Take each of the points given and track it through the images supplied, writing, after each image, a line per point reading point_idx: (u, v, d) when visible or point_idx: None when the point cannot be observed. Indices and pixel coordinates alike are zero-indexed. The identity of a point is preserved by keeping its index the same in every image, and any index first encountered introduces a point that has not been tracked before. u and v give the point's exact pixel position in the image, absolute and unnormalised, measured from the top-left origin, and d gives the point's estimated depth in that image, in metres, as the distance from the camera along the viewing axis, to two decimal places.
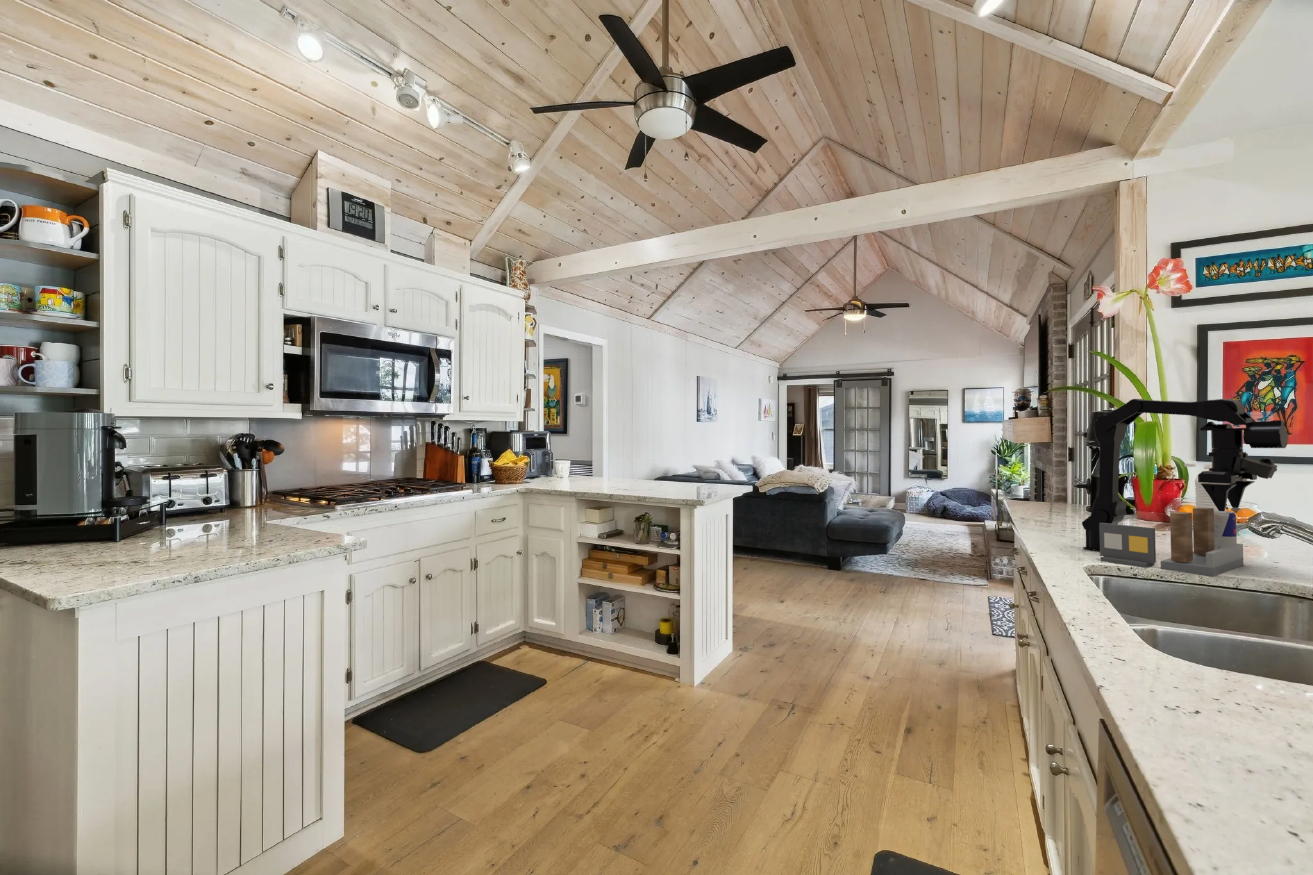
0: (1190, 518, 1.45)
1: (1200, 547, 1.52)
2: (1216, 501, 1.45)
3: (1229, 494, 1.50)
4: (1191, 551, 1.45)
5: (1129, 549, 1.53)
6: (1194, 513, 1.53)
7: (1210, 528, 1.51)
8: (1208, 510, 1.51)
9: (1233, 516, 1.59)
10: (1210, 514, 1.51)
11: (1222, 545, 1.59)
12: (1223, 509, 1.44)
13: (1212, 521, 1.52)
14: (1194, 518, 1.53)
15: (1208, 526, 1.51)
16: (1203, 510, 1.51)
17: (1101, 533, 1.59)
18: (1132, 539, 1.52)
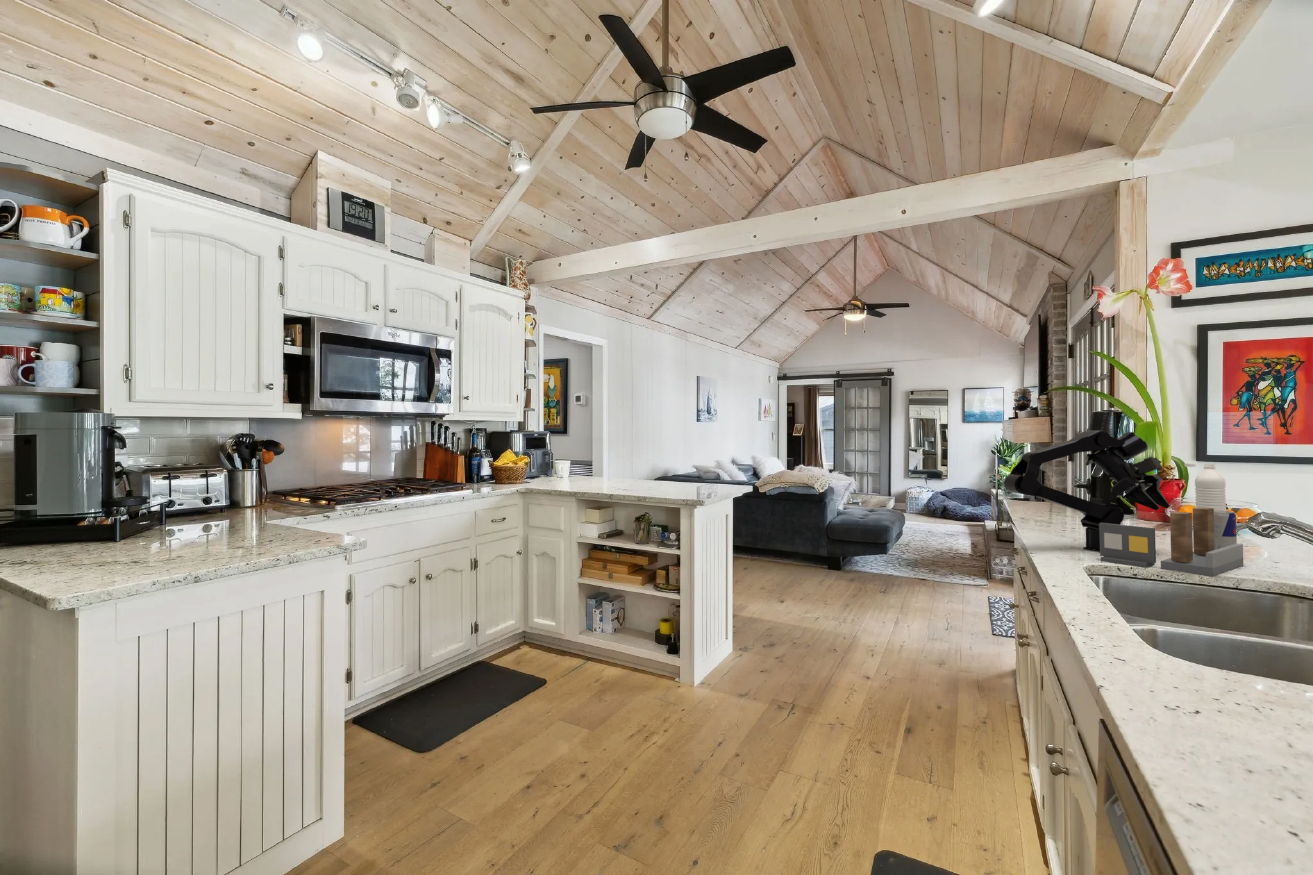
0: (1190, 518, 1.45)
1: (1200, 547, 1.52)
2: (1146, 504, 1.60)
3: (1154, 500, 1.64)
4: (1191, 551, 1.45)
5: (1129, 549, 1.53)
6: (1194, 513, 1.53)
7: (1210, 528, 1.51)
8: (1208, 510, 1.51)
9: (1233, 516, 1.59)
10: (1210, 514, 1.51)
11: (1222, 545, 1.59)
12: (1157, 506, 1.58)
13: (1212, 521, 1.52)
14: (1194, 518, 1.53)
15: (1208, 526, 1.51)
16: (1203, 510, 1.51)
17: (1101, 533, 1.59)
18: (1132, 539, 1.52)
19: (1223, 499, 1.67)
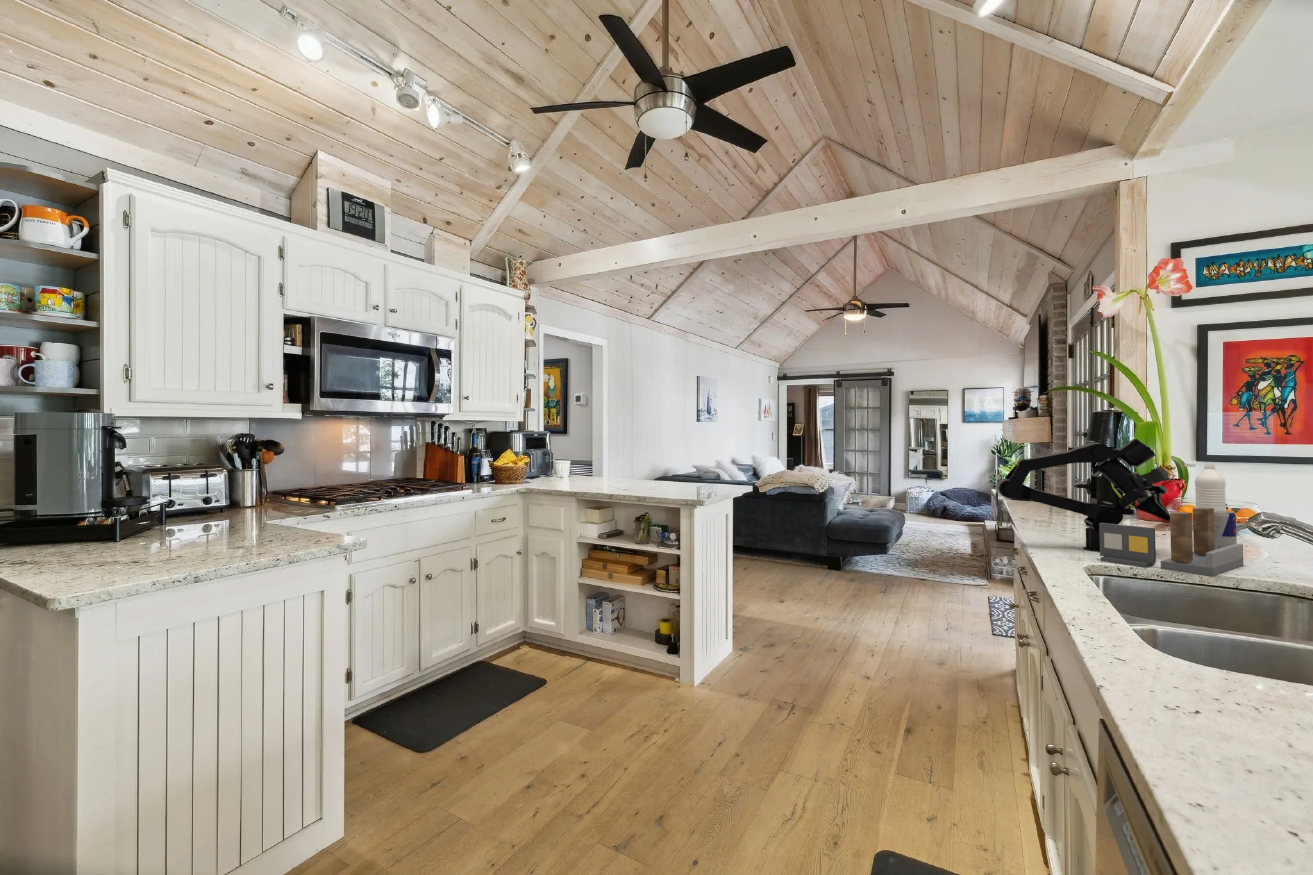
0: (1190, 518, 1.45)
1: (1200, 547, 1.52)
2: (1158, 514, 1.60)
3: None
4: (1191, 551, 1.45)
5: (1129, 549, 1.53)
6: (1194, 513, 1.53)
7: (1210, 528, 1.51)
8: (1208, 510, 1.51)
9: (1233, 516, 1.59)
10: (1210, 514, 1.51)
11: (1222, 545, 1.59)
12: (1169, 517, 1.59)
13: (1212, 521, 1.52)
14: (1194, 518, 1.53)
15: (1208, 526, 1.51)
16: (1203, 510, 1.51)
17: (1101, 533, 1.59)
18: (1132, 539, 1.52)
19: (1223, 499, 1.67)
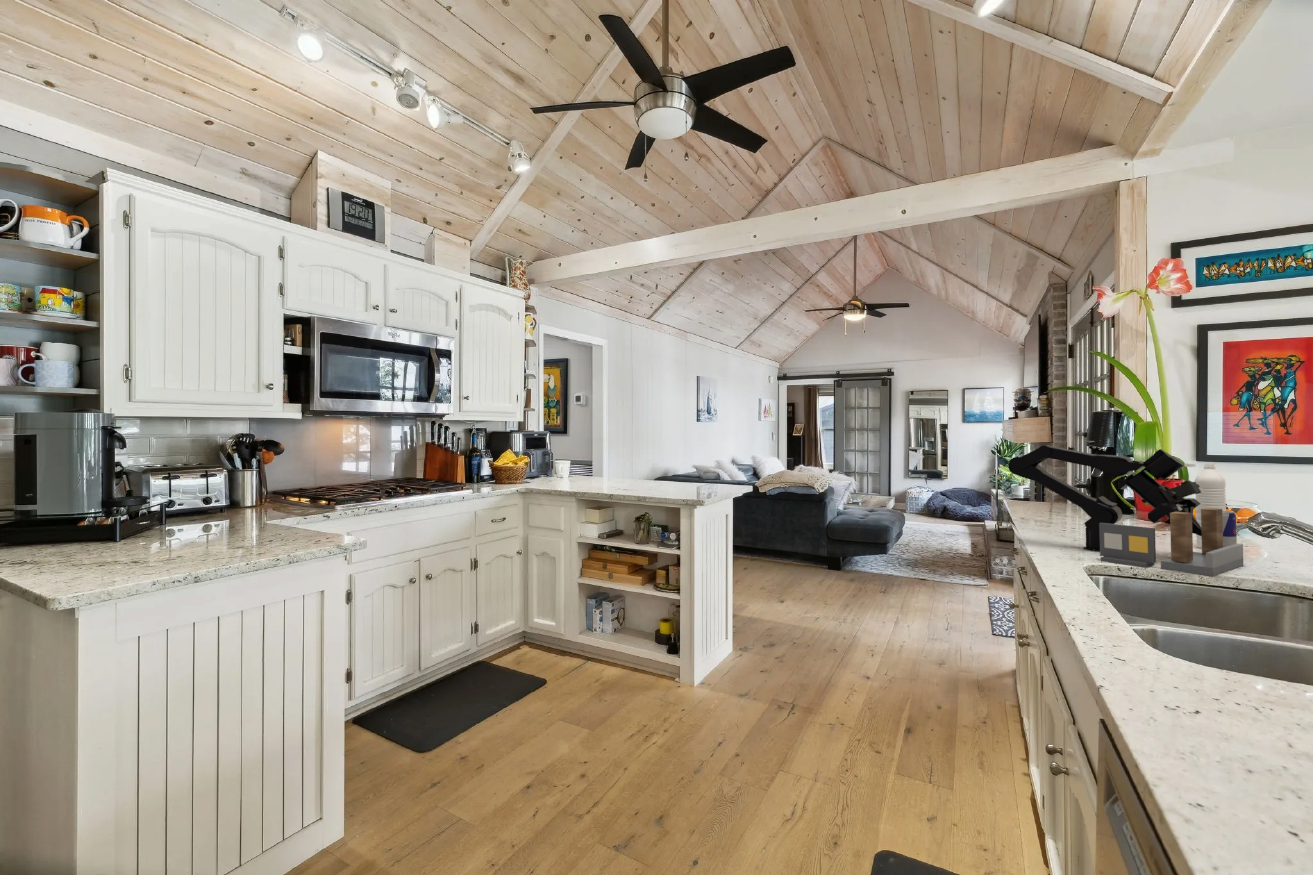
0: (1190, 518, 1.45)
1: (1208, 548, 1.50)
2: None
3: None
4: (1191, 551, 1.45)
5: (1129, 549, 1.53)
6: (1202, 514, 1.51)
7: (1219, 529, 1.50)
8: (1217, 511, 1.49)
9: (1233, 516, 1.59)
10: (1219, 515, 1.50)
11: None
12: None
13: (1221, 522, 1.50)
14: (1202, 519, 1.51)
15: (1217, 527, 1.49)
16: (1212, 511, 1.50)
17: (1101, 533, 1.59)
18: (1132, 539, 1.52)
19: (1223, 499, 1.67)
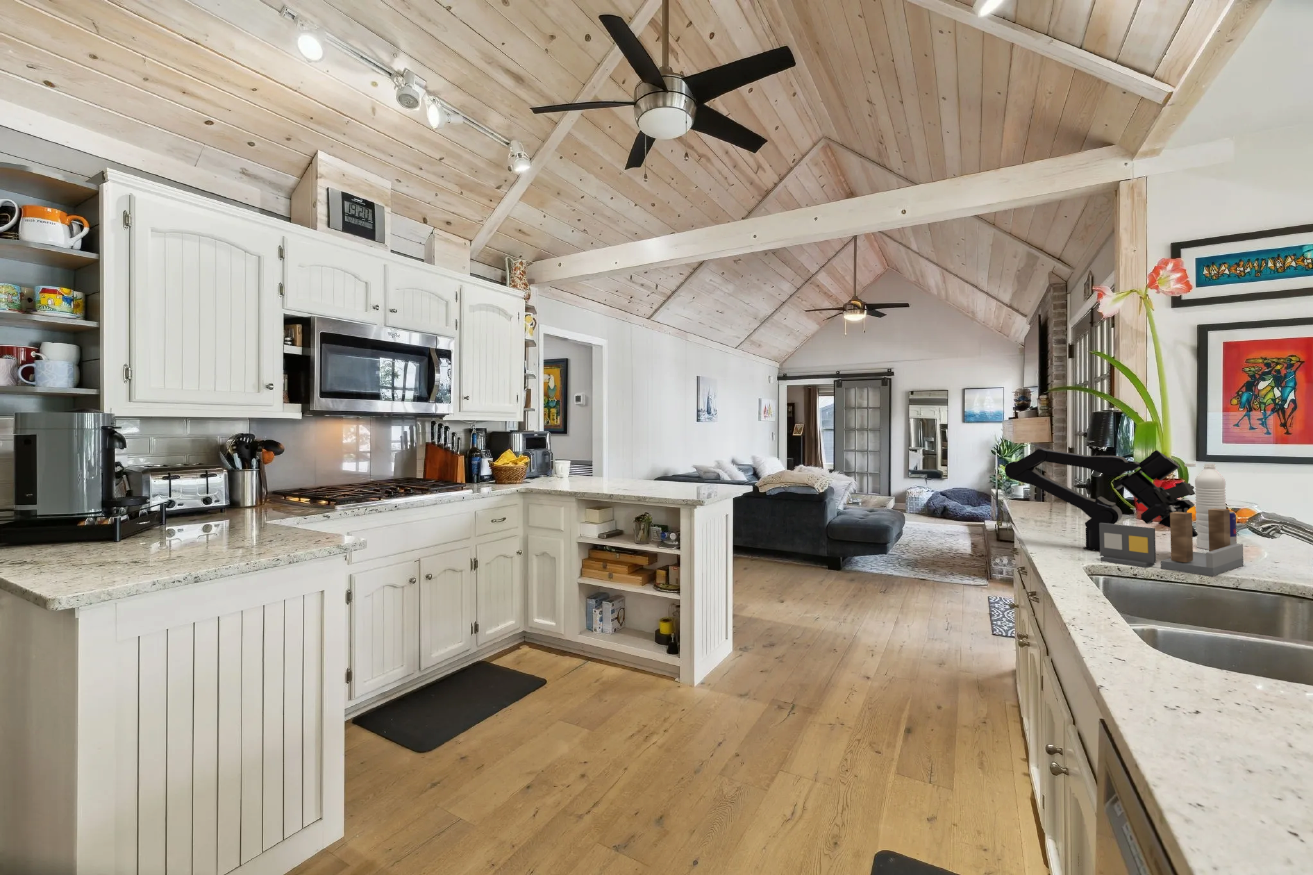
0: (1190, 518, 1.45)
1: (1216, 549, 1.49)
2: None
3: None
4: (1191, 551, 1.45)
5: (1129, 549, 1.53)
6: (1210, 514, 1.50)
7: (1226, 530, 1.49)
8: (1224, 511, 1.48)
9: (1233, 516, 1.59)
10: (1226, 516, 1.49)
11: None
12: (1195, 533, 1.54)
13: (1228, 522, 1.49)
14: (1210, 519, 1.50)
15: (1224, 527, 1.48)
16: (1219, 511, 1.48)
17: (1101, 533, 1.59)
18: (1132, 539, 1.52)
19: (1223, 499, 1.67)
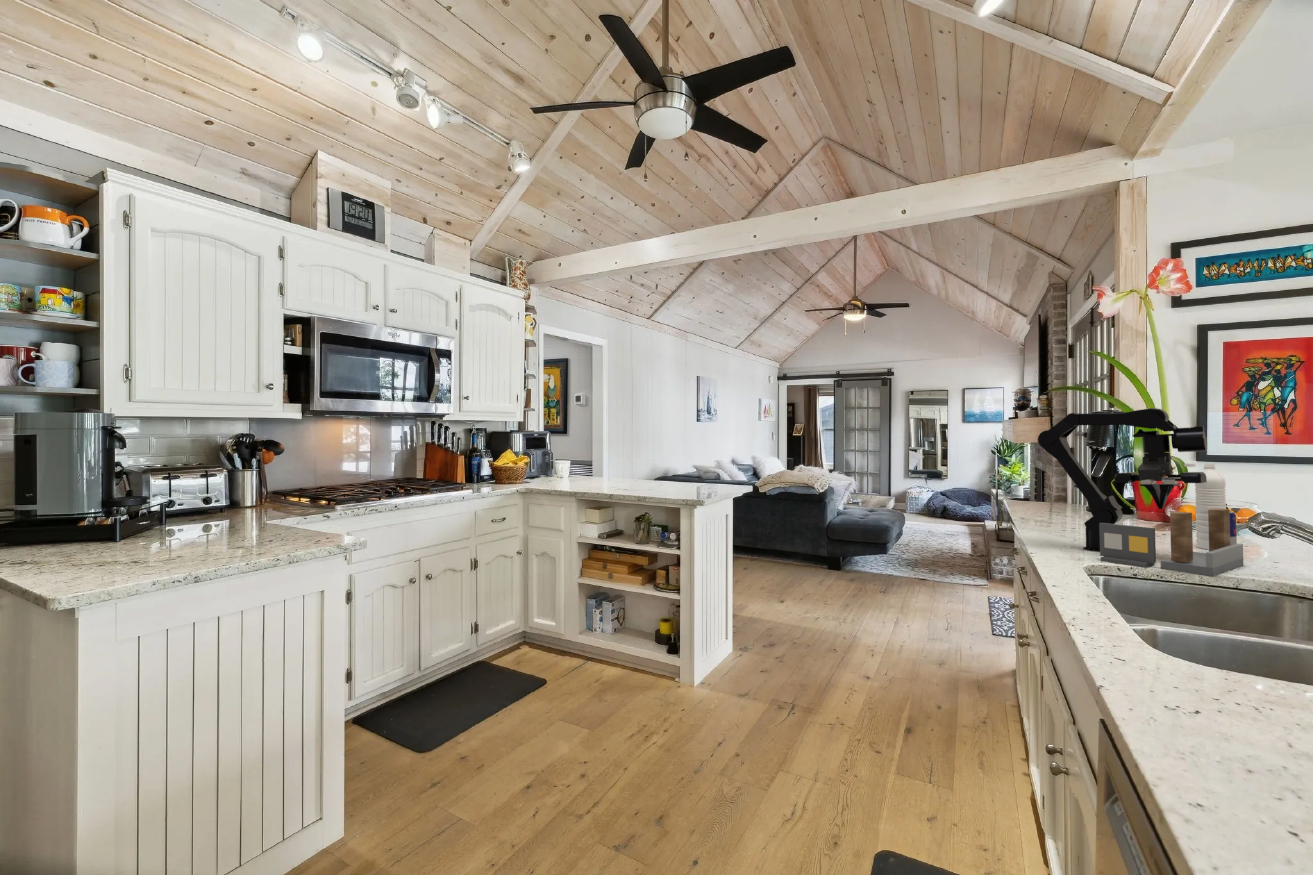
0: (1190, 518, 1.45)
1: (1216, 549, 1.49)
2: None
3: None
4: (1191, 551, 1.45)
5: (1129, 549, 1.53)
6: (1210, 514, 1.50)
7: (1226, 530, 1.49)
8: (1224, 511, 1.48)
9: (1233, 516, 1.59)
10: (1226, 516, 1.49)
11: None
12: (1158, 507, 1.61)
13: (1228, 522, 1.49)
14: (1210, 519, 1.50)
15: (1224, 527, 1.48)
16: (1219, 511, 1.48)
17: (1101, 533, 1.59)
18: (1132, 539, 1.52)
19: (1223, 499, 1.67)
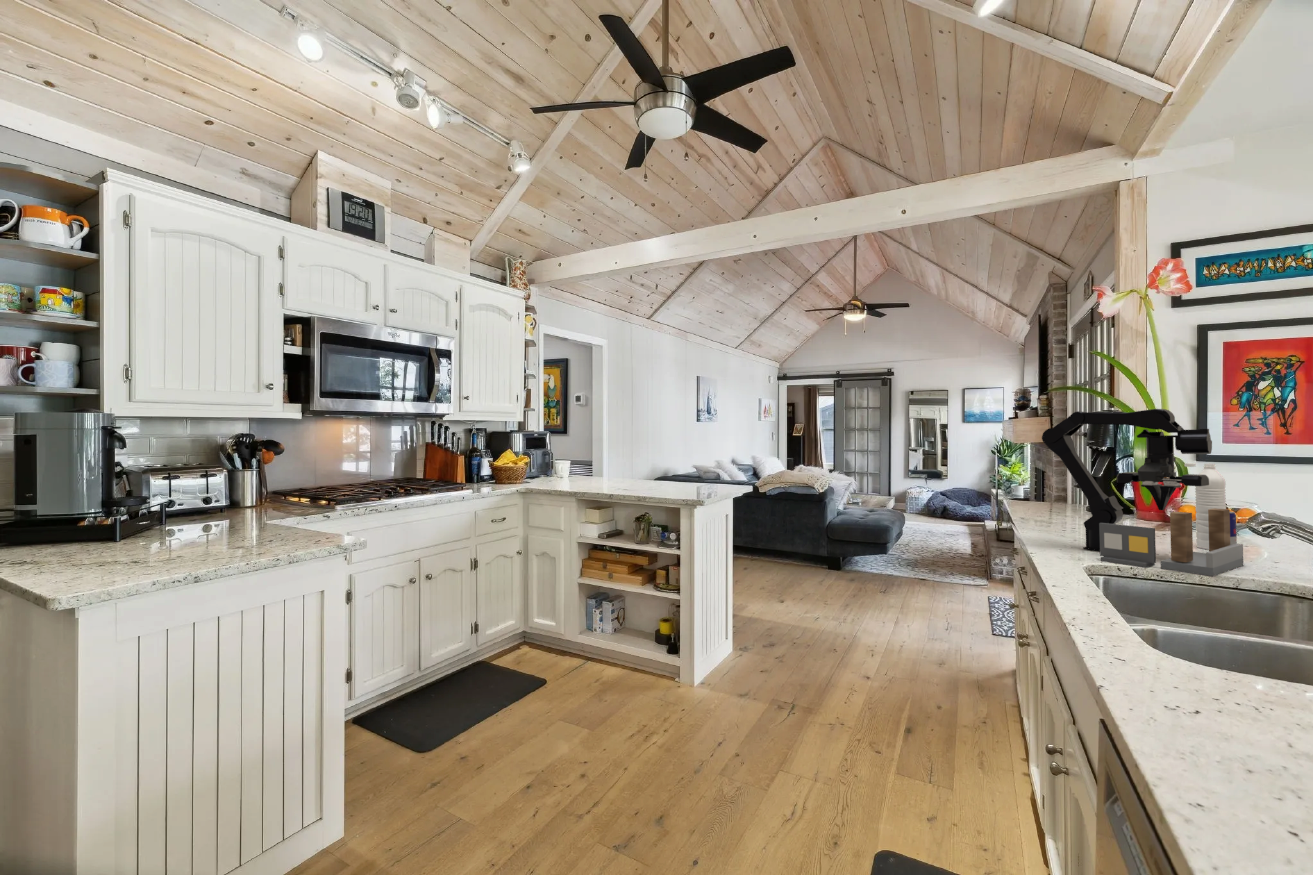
0: (1190, 518, 1.45)
1: (1216, 549, 1.49)
2: None
3: None
4: (1191, 551, 1.45)
5: (1129, 549, 1.53)
6: (1210, 514, 1.50)
7: (1226, 530, 1.49)
8: (1224, 511, 1.48)
9: (1233, 516, 1.59)
10: (1226, 516, 1.49)
11: None
12: None
13: (1228, 522, 1.49)
14: (1210, 519, 1.50)
15: (1224, 527, 1.48)
16: (1219, 511, 1.48)
17: (1101, 533, 1.59)
18: (1132, 539, 1.52)
19: (1223, 499, 1.67)
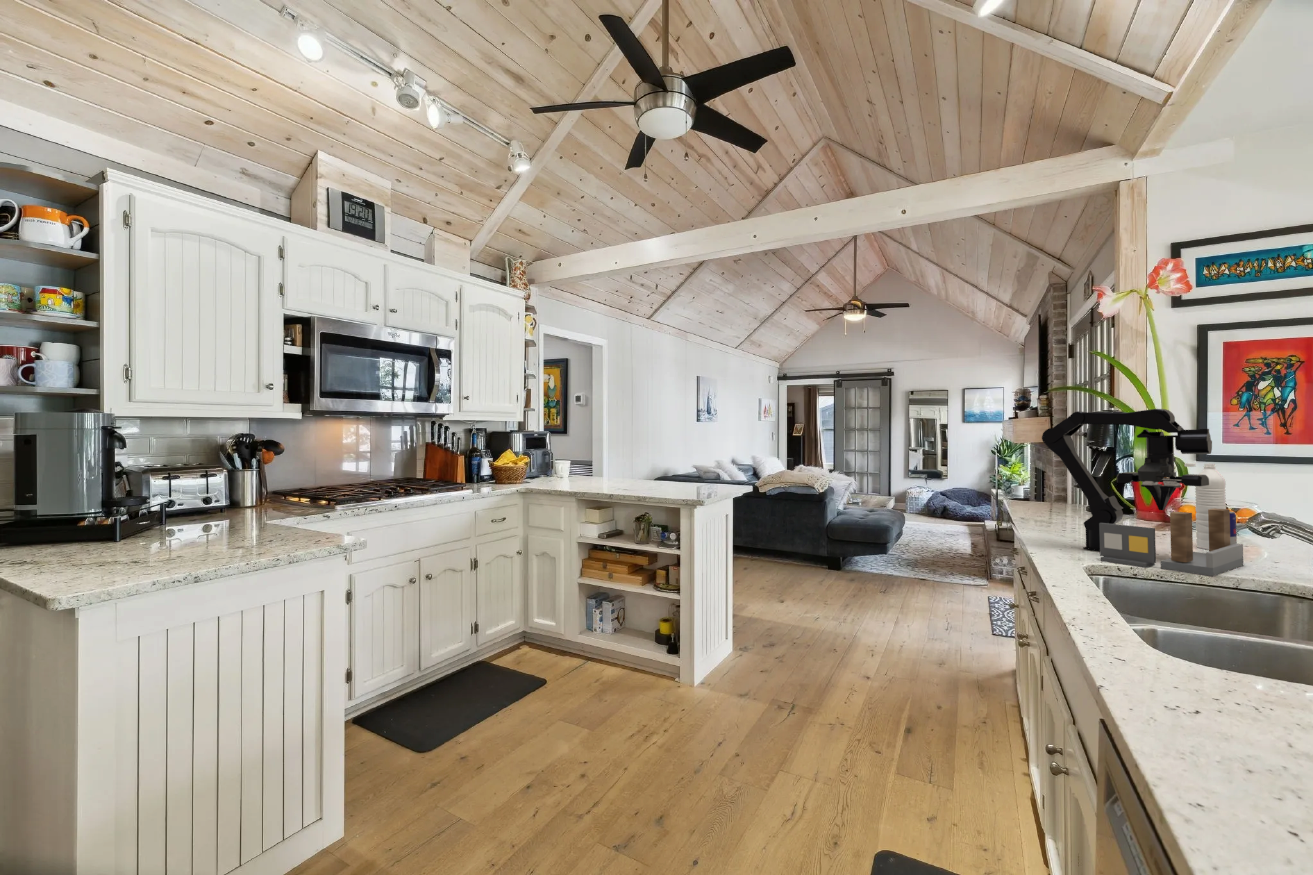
0: (1190, 518, 1.45)
1: (1216, 549, 1.49)
2: None
3: None
4: (1191, 551, 1.45)
5: (1129, 549, 1.53)
6: (1210, 514, 1.50)
7: (1226, 530, 1.49)
8: (1224, 511, 1.48)
9: (1233, 516, 1.59)
10: (1226, 516, 1.49)
11: None
12: None
13: (1228, 522, 1.49)
14: (1210, 519, 1.50)
15: (1224, 527, 1.48)
16: (1219, 511, 1.48)
17: (1101, 533, 1.59)
18: (1132, 539, 1.52)
19: (1223, 499, 1.67)
